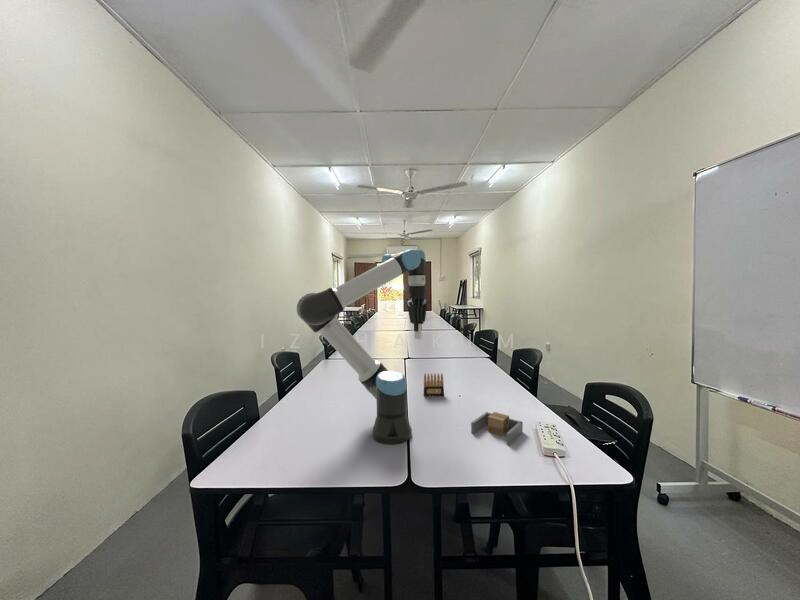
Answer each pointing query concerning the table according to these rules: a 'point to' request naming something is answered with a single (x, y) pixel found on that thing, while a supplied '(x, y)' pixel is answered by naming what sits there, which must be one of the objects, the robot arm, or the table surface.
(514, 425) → the corral
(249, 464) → the table surface
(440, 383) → the ammunition clip
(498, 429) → the block
